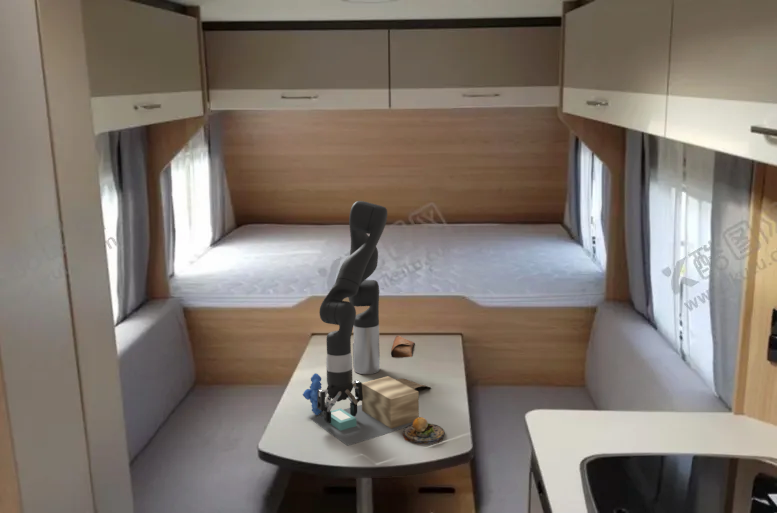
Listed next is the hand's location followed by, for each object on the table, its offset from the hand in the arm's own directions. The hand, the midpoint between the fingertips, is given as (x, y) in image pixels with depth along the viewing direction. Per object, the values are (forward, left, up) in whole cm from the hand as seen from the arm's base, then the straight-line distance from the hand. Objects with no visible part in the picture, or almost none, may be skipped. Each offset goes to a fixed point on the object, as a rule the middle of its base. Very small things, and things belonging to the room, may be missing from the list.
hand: (340, 418), depth 206 cm
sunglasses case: (-45, +55, -2) cm, 71 cm away
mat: (+3, +7, -2) cm, 8 cm away
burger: (+21, +15, -2) cm, 26 cm away
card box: (0, 0, -1) cm, 1 cm away
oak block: (+4, +15, -1) cm, 16 cm away
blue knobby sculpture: (-13, -2, -2) cm, 13 cm away
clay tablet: (-10, +31, -3) cm, 33 cm away
